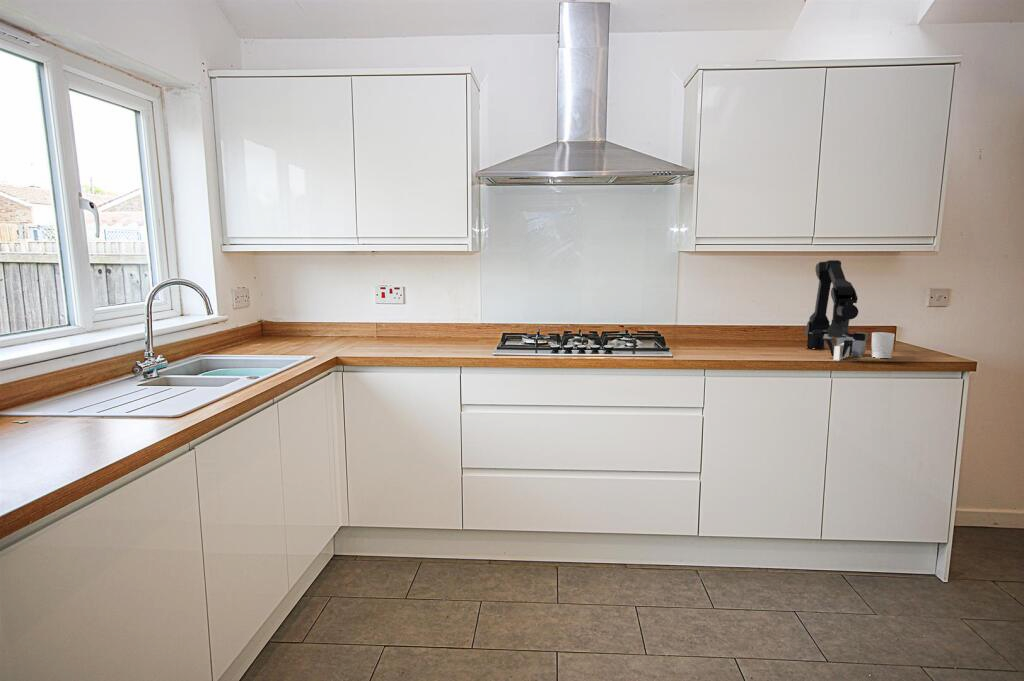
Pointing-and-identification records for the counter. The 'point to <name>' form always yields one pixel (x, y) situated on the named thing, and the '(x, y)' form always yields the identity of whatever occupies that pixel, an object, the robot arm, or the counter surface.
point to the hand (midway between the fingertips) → (837, 356)
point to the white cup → (882, 344)
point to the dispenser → (854, 347)
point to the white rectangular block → (840, 352)
